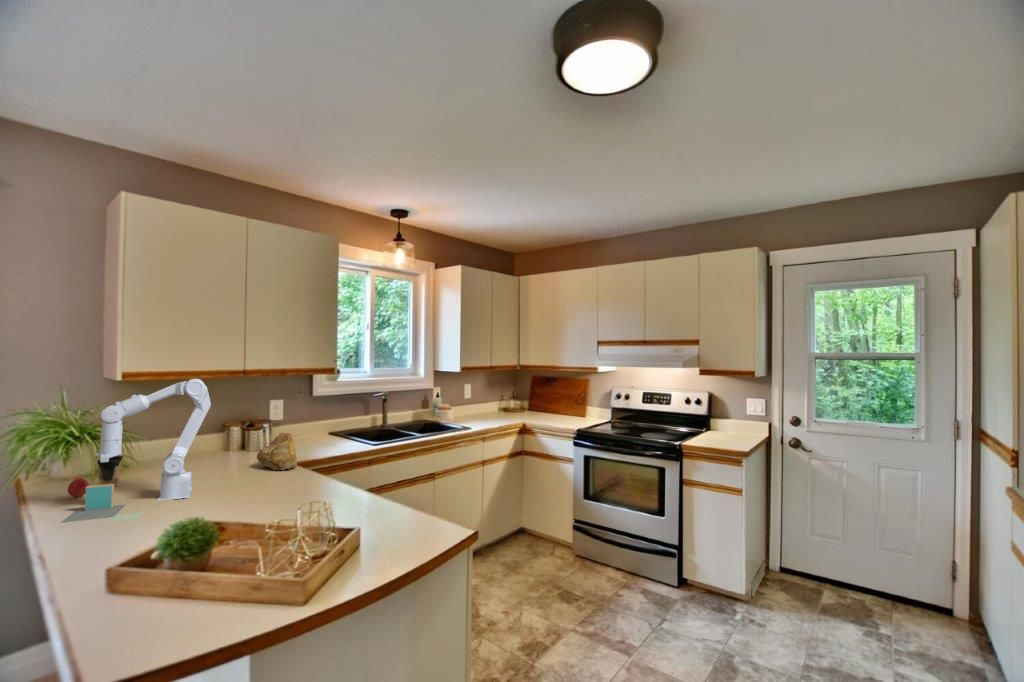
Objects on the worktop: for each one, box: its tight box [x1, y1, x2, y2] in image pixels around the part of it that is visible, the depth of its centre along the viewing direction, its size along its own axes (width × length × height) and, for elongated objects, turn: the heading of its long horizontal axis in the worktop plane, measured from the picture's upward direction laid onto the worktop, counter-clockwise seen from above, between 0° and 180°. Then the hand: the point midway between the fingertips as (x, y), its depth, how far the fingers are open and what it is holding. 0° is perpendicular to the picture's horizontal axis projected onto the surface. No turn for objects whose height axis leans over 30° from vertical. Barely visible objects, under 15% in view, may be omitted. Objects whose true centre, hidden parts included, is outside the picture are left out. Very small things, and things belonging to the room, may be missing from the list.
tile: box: [84, 484, 115, 511], centre depth 158 cm, size 7×2×8 cm, turn 117°
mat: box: [60, 504, 127, 523], centre depth 155 cm, size 13×14×1 cm
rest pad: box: [107, 511, 145, 523], centre depth 152 cm, size 8×7×1 cm
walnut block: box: [97, 465, 120, 489], centre depth 164 cm, size 5×3×7 cm, turn 117°
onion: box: [67, 475, 90, 499], centre depth 171 cm, size 6×6×8 cm
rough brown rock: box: [256, 432, 298, 471], centre depth 224 cm, size 23×17×15 cm
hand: (109, 479), depth 164 cm, fingers closed on walnut block, 3 cm apart
